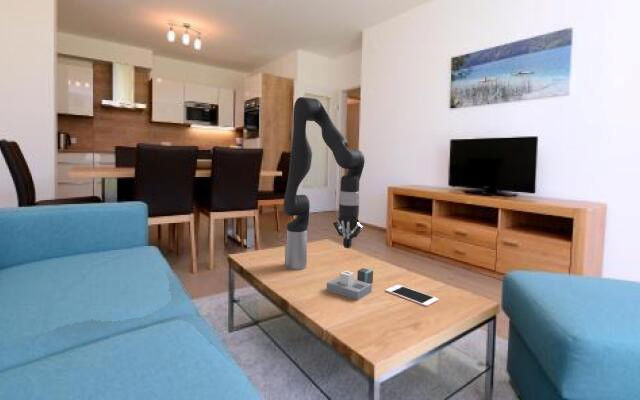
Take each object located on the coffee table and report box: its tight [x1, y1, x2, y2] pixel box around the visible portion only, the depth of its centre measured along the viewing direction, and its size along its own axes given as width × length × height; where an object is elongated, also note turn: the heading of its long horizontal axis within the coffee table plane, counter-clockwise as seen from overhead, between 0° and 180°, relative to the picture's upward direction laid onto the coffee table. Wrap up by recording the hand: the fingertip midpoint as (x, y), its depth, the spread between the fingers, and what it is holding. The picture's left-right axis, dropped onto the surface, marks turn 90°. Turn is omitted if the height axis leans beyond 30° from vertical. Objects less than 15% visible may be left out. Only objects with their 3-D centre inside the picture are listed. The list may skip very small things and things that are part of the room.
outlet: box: [326, 276, 373, 301], centre depth 132 cm, size 14×10×3 cm
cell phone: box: [384, 284, 439, 308], centre depth 129 cm, size 9×18×1 cm, turn 43°
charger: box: [339, 270, 355, 286], centre depth 132 cm, size 4×4×7 cm
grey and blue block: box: [356, 267, 374, 284], centre depth 141 cm, size 5×4×5 cm
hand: (347, 247), depth 132 cm, fingers closed
